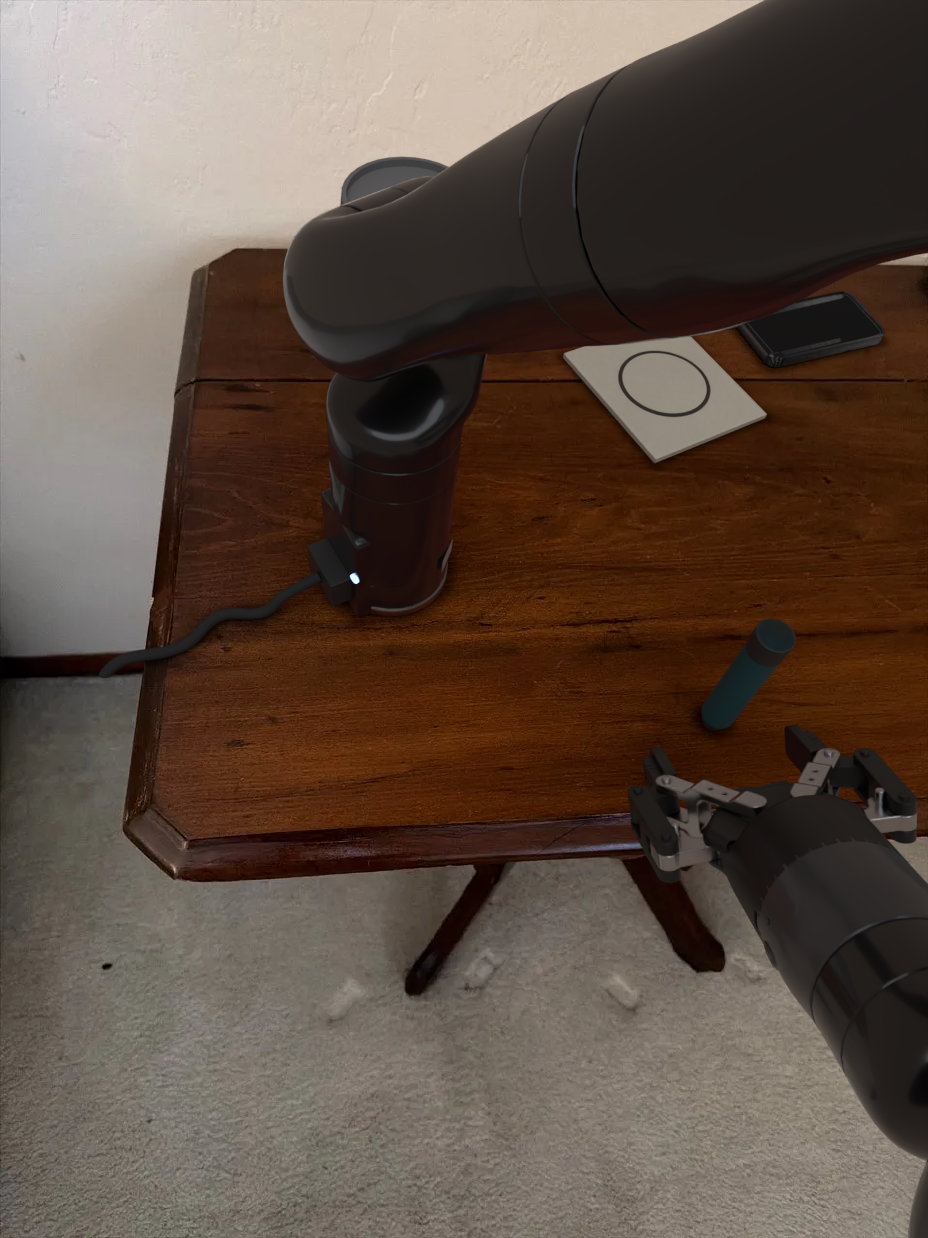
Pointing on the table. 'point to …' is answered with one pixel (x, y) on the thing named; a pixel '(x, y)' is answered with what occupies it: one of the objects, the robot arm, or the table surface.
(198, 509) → the table surface
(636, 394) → the sketch pad
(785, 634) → the marker
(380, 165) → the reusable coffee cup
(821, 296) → the phone
